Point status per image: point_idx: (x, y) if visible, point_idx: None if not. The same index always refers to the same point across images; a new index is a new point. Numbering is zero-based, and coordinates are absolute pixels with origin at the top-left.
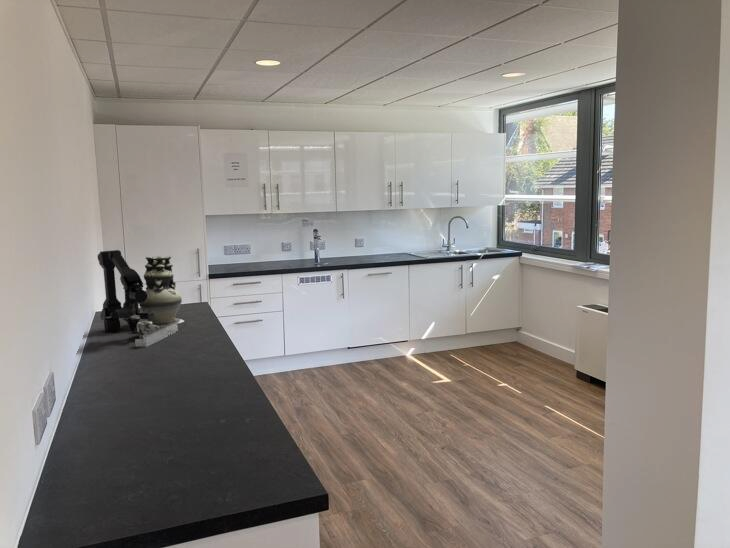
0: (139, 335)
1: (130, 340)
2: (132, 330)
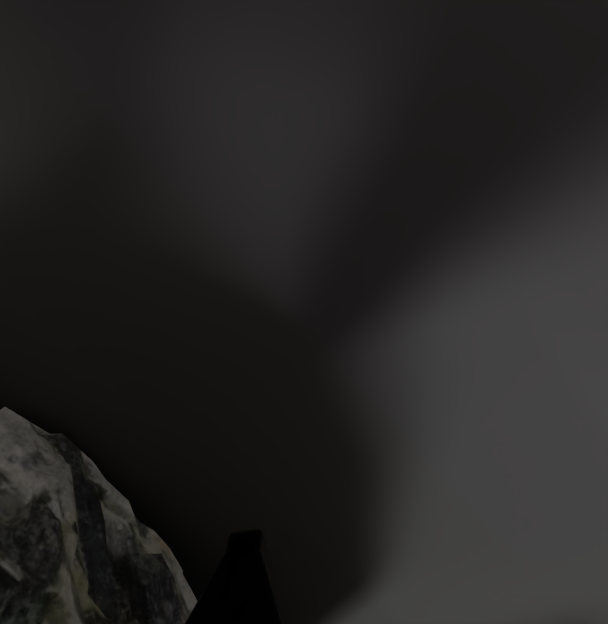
0: (26, 485)
1: (189, 280)
2: (223, 592)
